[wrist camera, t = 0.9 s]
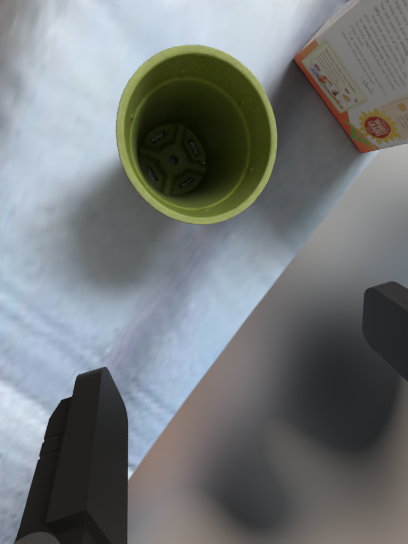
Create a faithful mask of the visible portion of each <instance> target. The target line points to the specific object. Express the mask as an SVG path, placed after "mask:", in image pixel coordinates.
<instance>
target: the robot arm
mask: <svg viewBox="0 0 408 544" xmlns="http://www.w3.org/2000/svg"><path fill="white" fill-rule="evenodd" d="M363 306H364V307H363V322H362V331H363V335H364V337H365V339H366V341H367V343H368V344H369V345H370V347H371V348H372V349H373V350H375V351H376V352H377V353H378V354H379V355H380V356H381V357H382V358H383V359H384V360H385V361H386V362H387V363H388V364H390V365H391V366H392V367H393V368H394V369H395V370H396V371H397V372H398V373H399V374H400V375H401V376H402V377H404V378H405V379H406V380H407V381H408V289H407V288H405V287H403V286H402V285H400V284H398V283H396V282H392V281H391V282H387V283H384V284H381V285H378V286H374V287H371V288H368V289H367V290H366V291H365V293H364V305H363ZM39 456H40V460H38V462H37V466H36V469H35V473H34V477H33V480H32V484H31V487H30V491H29V495H28V498H27V502H26V506H25V509H24V513H23V517H22V520H21V524H20V528H19V531H18V534H17V537H16V540H15V542H14V544H127V511H128V509H127V508H128V507H127V506H128V500H127V499H128V417H127V412H126V408H125V404H124V402H123V400H122V398H121V395H120V393H119V391H118V389H117V387H116V385H115V383H114V381H113V379H112V376H111V374H110V372H109V370H108V369H107V368H106V367H102V368H99V369H96V370H92V371H89V372H86V373H83V374H79V375H78V376H77V378H76V381H75V386H74V390H73V395H72V397H69V398H66V399H63V400H61V402H60V403H59V405H58V406H57V408H56V409H55V411H54V412H53V414H52V415H51V417H50V418H49V422H48V425H47V429H46V433H45V436H44V442H43V444H42V447H41V451H40V455H39Z"/></svg>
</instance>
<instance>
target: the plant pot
mask: <svg viewBox="0 0 408 544" xmlns="http://www.w3.org/2000/svg"><path fill="white" fill-rule="evenodd" d="M161 132H164V134H165V136H164V137H162V138H160V139H159V140H157V141H156V142H155V144H154V143H153V141H152V138H154V137H155V136H157V135H158V134H159V133H161ZM116 138H117V146H118V152H119V156H120V159H121V162H122V165H123V168H124V170H125V172H126V174H127V176H128V178H129V180H130V182H131V183H132V185H133V186H134V188H135V189H136V191H137V192H138V193H139V194H140V195H141V196H142V198H143V199H144V200H145V201H147V202H148V203H149V204H150V205H151V206H152V207H154V208H155V209H156V210H158V211H159V212H161V213H162V214H164V215H166V216H168V217H170V218H172V219H175V220H178V221H181V222H185V223H189V224H200V225H201V224H214V223H219V222H222V221H225V220H228V219H230V218H232V217H234V216H236V215H238V214H239V213H241V212H242V211H244V210H245V209H246V208H248V207H249V206H250V205H251V204H252V203H253V202H254V201H255V200H256V198H257V197H258V196H259V195H260V193H261V192H262V191H263V189H264V187H265V186H266V184H267V182H268V180H269V178H270V175H271V172H272V169H273V166H274V162H275V158H276V150H277V129H276V122H275V117H274V114H273V110H272V107H271V104H270V101H269V99H268V97H267V95H266V93H265V91H264V89H263V87H262V86H261V84H260V82H259V81H258V80H257V79H256V77H255V76H254V75H253V74H252V72H251V71H250V70H249V69H248V68H246V67H245V66H244V65H243V64H242V63H241V62H239V61H238V60H237V59H235V58H234V57H232V56H231V55H229V54H226V53H225V52H222V51H220V50H217V49H214V48H211V47H207V46H202V45H182V46H176V47H172V48H169V49H166V50H164V51H161V52H160V53H158V54H156V55H154V56H153V57H151V58H150V59H148V60H147V61H146V62H144V63H143V64H142V65H141V66H140V67H139V68H138V69H137V71H136V72H135V73H134V74H133V76H132V77H131V79H130V80H129V81H128V83H127V85H126V87H125V89H124V91H123V94H122V96H121V99H120V103H119V107H118V112H117V119H116ZM189 141H193V142H194V144H195V145H196V147H197V150H198V154H195V153H194V151H193V149H192V147H191V146H190V144H189ZM172 156H174V157H176V158H177V163H176V164H173V163H171V161H170V159H171V157H172ZM144 158H145V159H144ZM197 161H201V162H204V163H205V164H202V163H199V162H197ZM149 167H150V168H151V169H152V171H153V173H154V175H155V177H156V178H157V181H156V182H155V181H153V179H152V178H151V177H150V175H149V174H148V171H147V168H149ZM190 178H192V179H193V180H192V181H191V182H190V183H189V184H188V185H186V186H184V187H182V186H181V184H182V183H184V182H186V181H187V180H188V179H190Z"/></svg>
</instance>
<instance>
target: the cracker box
mask: <svg viewBox="0 0 408 544" xmlns="http://www.w3.org/2000/svg"><path fill="white" fill-rule="evenodd" d="M294 60H295V62H296V63H297V64H298V66H299V67H300V68H301V70H302V71H303V73H304V74H305V75H306V77H307V78H308V80H309V81H310V82H311V84H312V85H313V87H314V88H315V89H316V91H317V92H318V94H319V95H320V97H321V98H322V99H323V101H324V102H325V103H326V105H327V106H328V108H329V109H330V110H331V112H332V113H333V115H334V116H335V117H336V119H337V120H338V122H339V123H340V124H341V126H342V127H343V129H344V130H345V131H346V133H347V134H348V136H349V137H350V138H351V140H352V141H353V143H354V144H355V146H356V147H357V148H358V150H359V151H360V152H361V153H365V152H370V151H375V150H379V149H384V148H388V147H393V146H398V145H402V144H407V143H408V0H350V1H349V2H348V3H346V4H345V5H344V6H343V7H342V8H341V9H340V10H339V11H338V12H336V13H335V14H334V15H333V16H332V17H331V18H330V19H329V20H328V21H326V22H325V24H324V25H323V26H322V27H321V28H320V29H319V30H318V31H317V32H316V34H315V35H314V36H313V37H312V38H311V39H310V40H309V41H308V43H307V44H306V45H305V46H304V47H303V48H302V49H301V50H300V52H299V53H298V54H297V55H296V56H295V57H294Z"/></svg>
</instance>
